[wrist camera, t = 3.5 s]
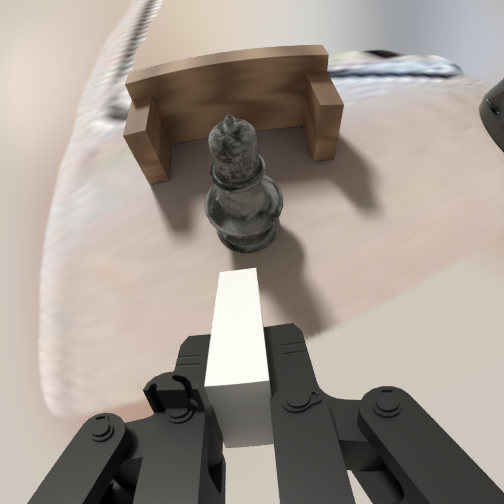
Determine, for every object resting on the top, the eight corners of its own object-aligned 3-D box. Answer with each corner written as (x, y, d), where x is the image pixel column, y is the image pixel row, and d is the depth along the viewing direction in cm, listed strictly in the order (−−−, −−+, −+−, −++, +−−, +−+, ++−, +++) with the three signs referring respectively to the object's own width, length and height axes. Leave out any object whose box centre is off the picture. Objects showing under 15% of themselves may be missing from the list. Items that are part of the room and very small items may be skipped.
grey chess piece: (293, 208, 26) (299, 96, 16) (265, 267, 24) (255, 168, 14) (232, 187, 28) (209, 78, 17) (200, 240, 26) (153, 140, 15)
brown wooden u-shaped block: (316, 113, 31) (322, 45, 23) (333, 159, 28) (347, 85, 20) (155, 135, 32) (128, 73, 24) (149, 184, 29) (114, 118, 21)
